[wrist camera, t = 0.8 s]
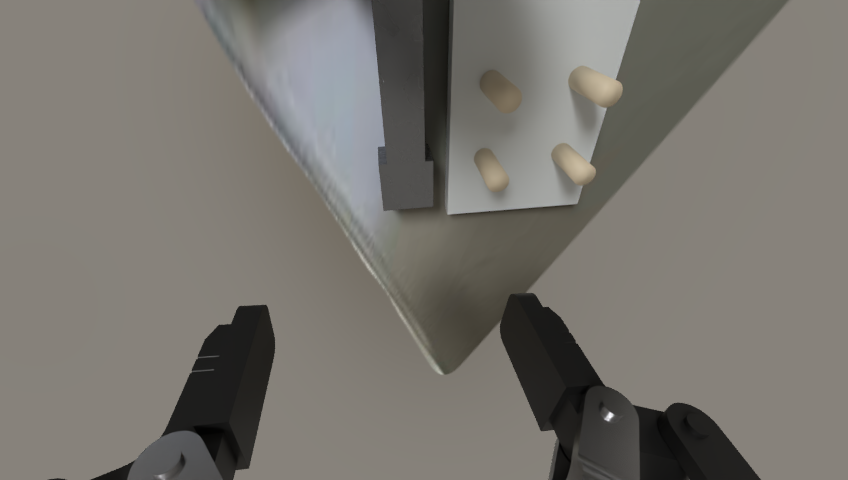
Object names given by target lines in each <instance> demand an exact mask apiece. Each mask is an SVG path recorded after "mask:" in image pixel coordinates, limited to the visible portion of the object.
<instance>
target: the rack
mask: <svg viewBox="0 0 848 480" xmlns="http://www.w3.org/2000/svg"><path fill="white" fill-rule="evenodd" d="M639 3H640V0H450V4H449V46H448V88H447V130H446V171H445V208H446V211H447V215H448V214H460V213H473V212H485V211H497V210H509V209H522V208H534V207H546V206H558V205H571V204H577V203H578V200H579V196H580V193H581V190H582V187H583V185H586V184H588V183H589V182H591V181H592V180H593V178H594V177H595V174H596V170H595V168H594V167H593V166H592V165H591V164H590V161H591V158H592V155H593V151H594V148H595V145H596V142H597V138H598V135H599V132H600V129H601V125H602V122H603V119H604V116H605V113H606V109H607V107H610V106H612V105H614V104H615V103H616V102H617V101H618V100H619V99H620V97H621V95H622V91H623V87H622V84H621V83H620V82H619V81H616V77H617V74H618V71H619V67H620V64H621V61H622V58H623V54H624V51H625V48H626V45H627V42H628V38H629V35H630V32H631V29H632V25H633V22H634V19H635V16H636V13H637V9H638V6H639Z"/></svg>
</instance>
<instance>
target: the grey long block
mask: <svg viewBox="0 0 848 480" xmlns="http://www.w3.org/2000/svg"><path fill="white" fill-rule="evenodd" d="M372 9H373V19H374V30H375V41H376V52H377V62H378V73H379V84H380V95H381V105H382V116H383V127H384V138H385V147H378V160H379V172H380V181H381V191H382V200H383V209H384V211H387V210H399V209H411V208H424V207H433V159H432V156H431V152H430V149H429V146H428V144H425V123H424V64H423V5H422V0H372Z"/></svg>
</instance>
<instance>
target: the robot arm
mask: <svg viewBox="0 0 848 480" xmlns="http://www.w3.org/2000/svg"><path fill="white" fill-rule="evenodd" d="M500 333H501V339H502V341H503V344H504V346H505V348H506V351H507V353H508V355H509V358H510V360H511V362H512V364H513V367H514V369H515V372H516V374H517V376H518V379H519V381H520V383H521V386H522V388H523V390H524V393H525V395H526V397H527V400H528V402H529V404H530V407H531V409H532V411H533V414H534V416H535V418H536V421H537V422H538V425H539V427H540V430H541V431H548V430H554V431H555V433H556V435H557V437H558V439H557V440H556V443H555V447H554V453H553V458H552V463H551V468H550V473H549V479H548V480H761V479H760V478H759V477H758V476H757V474H756V473H755V472H754V471H753V470H752V468H751V467H750V466H749V464H748V463H747V462H746V461H745V459H744V458H743V457H742V455H741V454H740V453H739V452H738V450H737V449H736V448H735V447H734V445H733V444H732V443H731V442H730V440H729V439H728V438H727V437H726V435H725V434H724V433H723V431H722V430H721V429H720V428H719V426H717V424H716V423H715V422H714V421H713V420H712V419H711V418H710V417H709V416H707V415H706V414H705V413H704V412H702V411H701V410H699V409H697V408H695V407H693V406H691V405H688V404H684V403H674V404H672V405H670V406H669V407H668V408H667V410H666V411H665V412H661V411H657V410H652V409H648V408H643V407H639V406H635V405H632V404H631V403H630V401H629V400H628V399H627V398H626V397H625V396H623V395H622V394H621V393H619V392H618V391H616V390H614V389H612V388H609V387H606V386H605V385H604V384H603V383H602V381H601V380H600V378H599V376H598V375H597V373H596V372H595V370H594V369H593V367H592V366H591V364H590V362H589V361H588V359H587V358H586V356H585V355H584V353H583V352H582V350H581V348H580V347H579V345H578V344H576V342H575V339H574V338H573V336H572V334H571V333H569V330H568V328H567V327H566V325H565V324H564V322H563V321H562V319H561V318H560V317H559V316H558V315H557V314H556V313H555V312H553V311H552V310H551V309H550V308H549V307H542V305H541V303H540V302H539V300H538V298H537V297H536V295H535V294H533V293H520V294H511V295H510V296H509V299H508V302H507V305H506V308H505V311H504V314H503V317H502V320H501V324H500ZM274 353H275V337H274V333H273V328H272V324H271V320H270V315H269V311H268V307H267V306H266V305H253V306H239V307H238V309H237V310H236V314H235V316H234V318H233V321H232V324H227V325H218V326H217V328H216V329H215V330H214V331H213V332H212V333H211V334H210V335H209V336H208V337H207V338H206V339H205V341H204V343H203V345H202V348H201V350H200V352H199V354H198V359H197V360H196V361H195V364H194V366H193V368H192V373H191V374H190V375H189V377H188V380H187V382H186V384H185V387H184V389H183V391H182V394H181V396H180V398H179V400H178V402H177V405H176V407H175V410H174V412H173V414H172V416H171V418H170V421H169V423H168V426H167V427H166V429H165V431H164V433H163V435H162V436H161V437H160V438H159V439H158V440H156V441H155V442H153V443H152V444H151V445H149V446H148V447H147V448H146V449H145V450H144V451H143V452H142V453H141V454H140V455H139V456H138V458H137V459H136V460H135V461H133V462H131V463H129V464H128V465H125V466H123V467H121V468H119V469H116V470H114V471H111V472H109V473H107V474H104V475H101V476H99V477H96V478H94V479H91V480H233V478H234V474H235V470H240V469H248V468H249V466H250V461H251V456H252V452H253V448H254V443H255V439H256V435H257V430H258V426H259V421H260V417H261V412H262V408H263V403H264V399H265V394H266V390H267V385H268V381H269V377H270V372H271V368H272V363H273V359H274ZM49 480H65V479H58V478H57V479H49Z"/></svg>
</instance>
